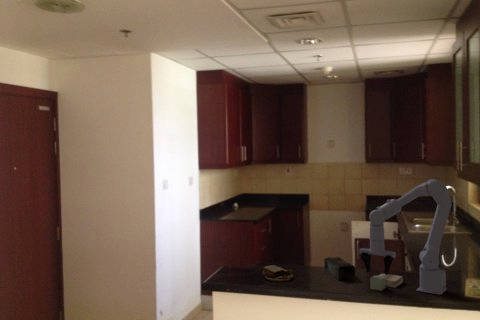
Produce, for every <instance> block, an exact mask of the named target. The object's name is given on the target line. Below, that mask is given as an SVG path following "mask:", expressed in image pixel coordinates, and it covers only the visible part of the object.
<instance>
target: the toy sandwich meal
mask: <svg viewBox="0 0 480 320" xmlns="http://www.w3.org/2000/svg"><path fill="white" fill-rule="evenodd" d="M292 272H293V269H289V270H287V269H284V268H282V267H281V266H277V265H273V264H272V265H271V264H270V265H266V266H264V267H263V270H262V272H261V275H262V276H264V277H265V279H267V280H268V281H271V282H287V281H290V280H291V279H293V277H294V275H293V274H292Z"/></svg>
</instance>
